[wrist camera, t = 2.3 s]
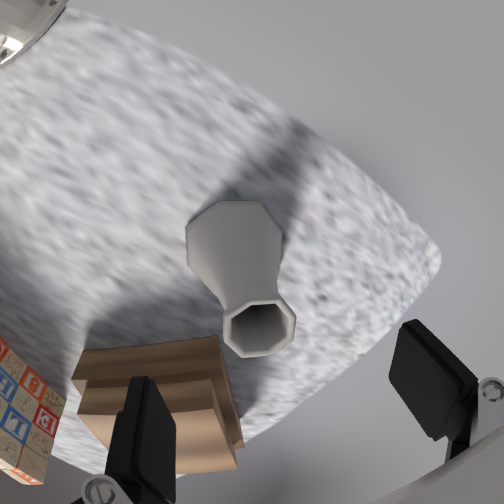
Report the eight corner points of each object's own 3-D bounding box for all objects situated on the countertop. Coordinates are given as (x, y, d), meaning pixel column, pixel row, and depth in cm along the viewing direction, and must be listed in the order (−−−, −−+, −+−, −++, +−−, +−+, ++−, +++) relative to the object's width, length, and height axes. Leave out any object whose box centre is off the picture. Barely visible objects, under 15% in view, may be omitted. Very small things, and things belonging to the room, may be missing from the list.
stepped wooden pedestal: (83, 350, 22) (61, 405, 15) (217, 335, 23) (225, 398, 17) (132, 429, 27) (127, 476, 20) (239, 419, 28) (249, 470, 22)
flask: (268, 184, 20) (326, 221, 10) (292, 272, 22) (347, 356, 13) (169, 217, 19) (141, 285, 10) (204, 302, 22) (211, 402, 13)
